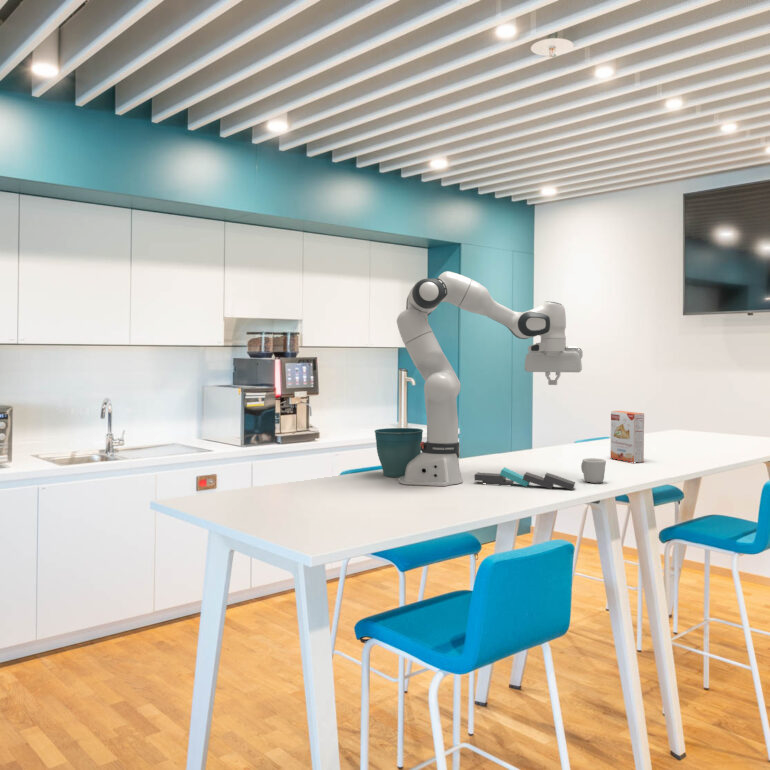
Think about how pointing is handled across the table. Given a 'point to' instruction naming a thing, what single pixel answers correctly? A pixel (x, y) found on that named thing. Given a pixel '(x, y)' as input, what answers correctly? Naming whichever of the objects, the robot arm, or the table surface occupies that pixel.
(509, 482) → the domino
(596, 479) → the cup
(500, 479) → the domino
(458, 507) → the table surface
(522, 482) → the domino teal
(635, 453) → the cracker box
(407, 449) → the flower pot
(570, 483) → the domino
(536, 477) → the domino
